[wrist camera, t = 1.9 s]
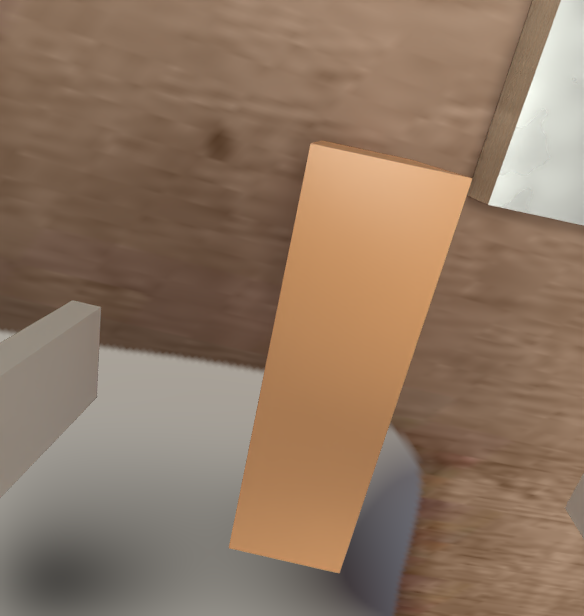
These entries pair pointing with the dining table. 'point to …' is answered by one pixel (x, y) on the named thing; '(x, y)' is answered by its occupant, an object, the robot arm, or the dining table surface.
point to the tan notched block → (341, 346)
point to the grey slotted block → (539, 120)
